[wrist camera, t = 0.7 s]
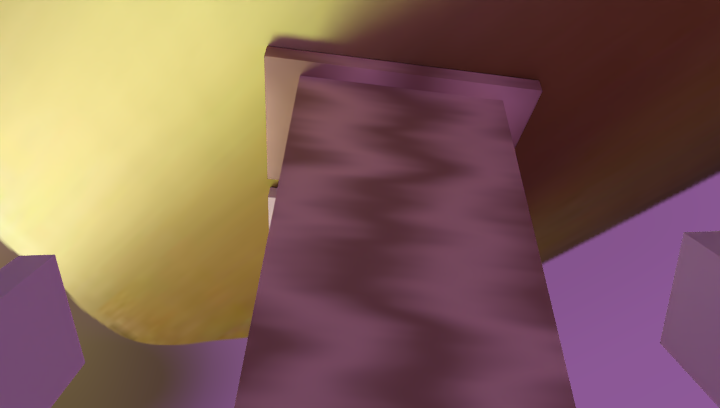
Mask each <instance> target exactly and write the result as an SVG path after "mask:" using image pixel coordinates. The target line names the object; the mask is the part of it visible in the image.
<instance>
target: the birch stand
mask: <svg viewBox="0 0 720 408" xmlns="http://www.w3.org/2000/svg"><path fill="white" fill-rule="evenodd" d="M264 63H265V100H266V137H267V173H268V179H276V180H279V183H278V188H277V193H276V199H275V204H274V209H273V214H272V219H271V224H270V229H269V234H268V239H267V244H266V249H265V254H264V260H263V265H262V270H261V275H260V280H259V285H258V290H257V295H256V300H255V305H254V310H253V316H252V321H251V326H250V331H249V336H248V342H247V346H246V351H245V356H244V361H243V367H242V371H241V377H240V382H239V387H238V392H237V397H236V402H235V407H234V408H576V407H575V403H574V399H573V394H572V390H571V386H570V381H569V378H568V373H567V369H566V364H565V361H564V356H563V352H562V348H561V343H560V340H559V335H558V331H557V326H556V322H555V318H554V314H553V310H552V305H551V301H550V297H549V293H548V289H547V284H546V280H545V276H544V272H543V267H542V263H541V259H540V255H539V251H538V246H537V242H536V238H535V234H534V229H533V225H532V221H531V217H530V213H529V208H528V204H527V200H526V196H525V191H524V187H523V183H522V179H521V175H520V170H519V166H518V162H517V158H516V153H515V147H516V145H517V143H518V141H519V138H520V136H521V134H522V132H523V130H524V128H525V126H526V124H527V122H528V120H529V118H530V116H531V114H532V112H533V109H534V107H535V105H536V103H537V101H538V99H539V97H540V95H541V93H542V88H541V85H540V82H539V81H538V80H530V79H523V78H515V77H507V76H499V75H491V74H483V73H475V72H467V71H460V70H452V69H444V68H436V67H428V66H420V65H412V64H404V63H397V62H389V61H381V60H373V59H365V58H357V57H349V56H342V55H334V54H326V53H318V52H310V51H302V50H294V49H286V48H279V47H271V46H267V48H266V52H265V55H264Z"/></svg>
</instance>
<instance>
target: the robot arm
mask: <svg viewBox="0 0 720 408" xmlns="http://www.w3.org/2000/svg"><path fill="white" fill-rule="evenodd" d="M660 343H661V345H663V347H664V348H665V349H666V350H667V351H668V352H669V353H670V354H671V355H672V357H673V358H674V359H675V360H676V361H677V362H678V363H679V364H680V365H681V366H682V368H683V369H684V370H685V371H686V372H687V373H688V374H689V375H690V376H691V377H692V378H693V380H694V381H695V382H696V383H697V384H698V385H699V386H700V387H701V388H702V389H703V390H704V392H705V393H706V394H707V395H708V396H709V397H710V398H711V399H712V400H713V401H714V403H715V404H717V406H718V407H719V408H720V231H715V232H685V233H684V234H683V239H682V243H681V248H680V253H679V257H678V262H677V267H676V271H675V276H674V280H673V285H672V290H671V295H670V299H669V304H668V309H667V313H666V318H665V323H664V327H663V332H662V336H661V342H660ZM84 364H85V360H84V357H83V353H82V350H81V346H80V343H79V339H78V335H77V332H76V328H75V325H74V321H73V318H72V314H71V310H70V307H69V304H68V300H67V296H66V293H65V289H64V286H63V282H62V279H61V275H60V271H59V268H58V264H57V261H56V257H55V255H31V256H18V257H16V258H15V259H13V260H12V261H11V262H9V263H8V264H7V265H5V266H4V267H3V268H1V269H0V408H51V407H52V405H53V404H54V403H55V401H56V400H57V399H58V398H59V396H60V395H61V394H62V392H63V391H64V389H65V388H66V387H67V386H68V384H69V383H70V382H71V381H72V379H73V378H74V377H75V375H76V374H77V373H78V371H79V370H80V369H81V368H82V366H83V365H84Z"/></svg>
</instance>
